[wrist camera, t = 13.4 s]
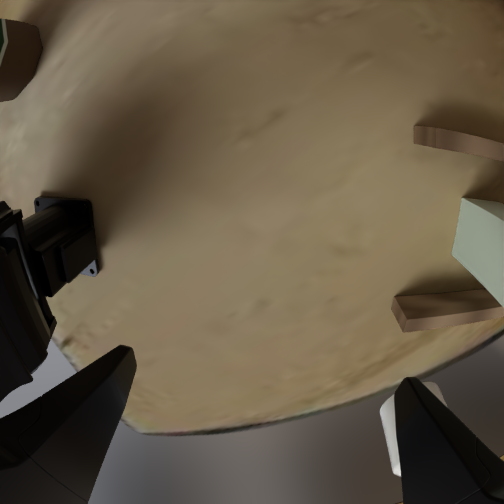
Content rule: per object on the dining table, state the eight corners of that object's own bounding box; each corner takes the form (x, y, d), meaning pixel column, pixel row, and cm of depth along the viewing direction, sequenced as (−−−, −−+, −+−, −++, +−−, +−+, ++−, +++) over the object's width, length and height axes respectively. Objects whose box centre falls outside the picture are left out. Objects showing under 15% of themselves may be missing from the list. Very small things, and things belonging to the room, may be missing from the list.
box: (391, 309, 21) (403, 332, 18) (413, 125, 15) (436, 127, 12) (504, 296, 19) (519, 313, 17) (534, 155, 14) (556, 162, 11)
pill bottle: (367, 410, 27) (382, 493, 17) (422, 372, 24) (455, 457, 14) (398, 424, 28) (414, 493, 18) (447, 392, 25) (474, 462, 16)
